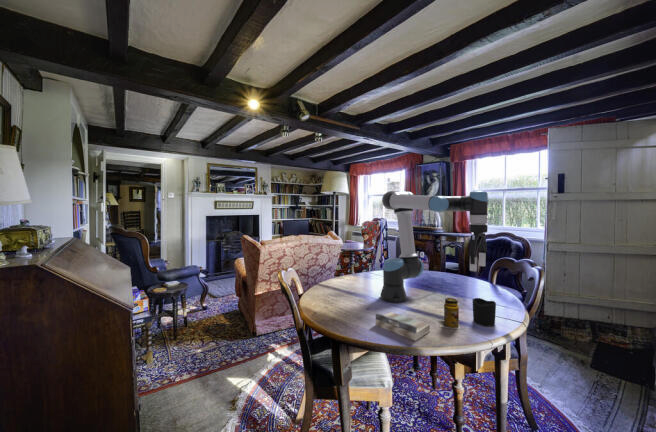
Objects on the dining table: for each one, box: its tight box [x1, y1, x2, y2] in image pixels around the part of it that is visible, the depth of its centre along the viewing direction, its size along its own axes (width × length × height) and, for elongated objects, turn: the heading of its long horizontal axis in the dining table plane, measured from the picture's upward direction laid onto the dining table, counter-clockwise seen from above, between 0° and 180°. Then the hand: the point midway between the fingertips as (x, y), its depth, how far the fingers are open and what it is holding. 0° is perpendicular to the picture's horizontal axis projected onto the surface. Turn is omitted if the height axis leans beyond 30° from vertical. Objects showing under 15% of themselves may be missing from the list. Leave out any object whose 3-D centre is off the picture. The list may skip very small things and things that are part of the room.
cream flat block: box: [375, 311, 431, 342], centre depth 119 cm, size 20×12×6 cm, turn 42°
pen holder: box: [472, 297, 497, 327], centre depth 124 cm, size 9×9×10 cm
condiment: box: [438, 297, 461, 330], centre depth 122 cm, size 7×8×12 cm
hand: (477, 268), depth 127 cm, fingers open, 13 cm apart
